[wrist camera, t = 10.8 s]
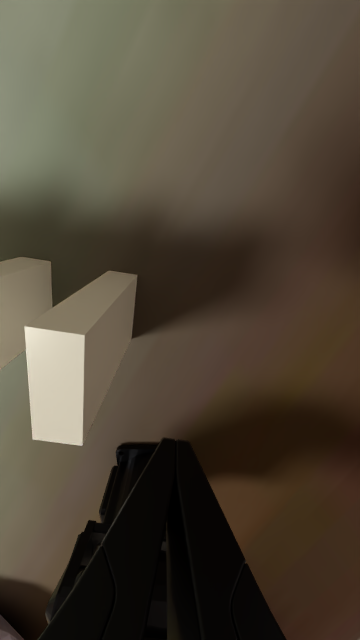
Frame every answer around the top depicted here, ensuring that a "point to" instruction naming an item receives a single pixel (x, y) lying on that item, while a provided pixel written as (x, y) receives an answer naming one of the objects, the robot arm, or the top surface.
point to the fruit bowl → (8, 631)
